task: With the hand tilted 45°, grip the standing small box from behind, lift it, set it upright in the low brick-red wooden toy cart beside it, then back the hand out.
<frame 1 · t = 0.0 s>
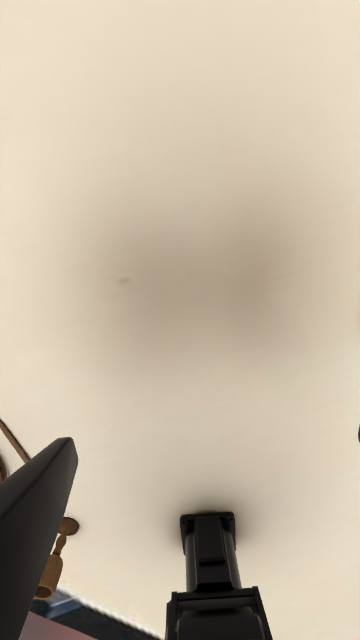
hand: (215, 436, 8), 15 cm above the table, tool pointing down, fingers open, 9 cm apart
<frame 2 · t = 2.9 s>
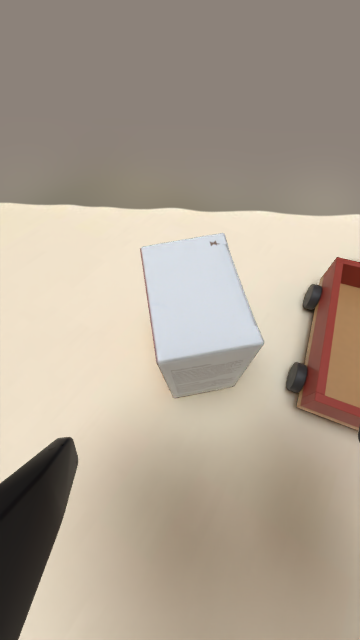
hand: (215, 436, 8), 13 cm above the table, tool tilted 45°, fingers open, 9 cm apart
small box: (194, 352, 23), on the table
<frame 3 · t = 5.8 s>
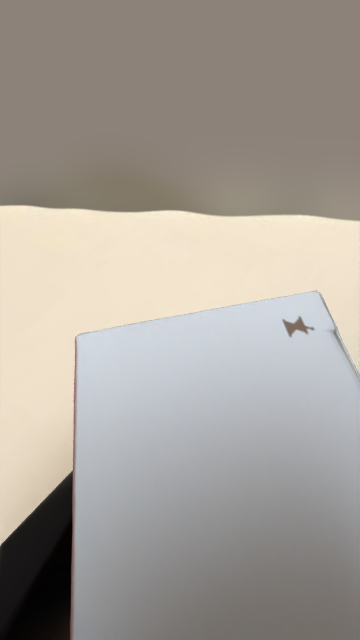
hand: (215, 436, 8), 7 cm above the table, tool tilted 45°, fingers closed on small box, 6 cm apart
small box: (210, 469, 13), on the table, touching gripper
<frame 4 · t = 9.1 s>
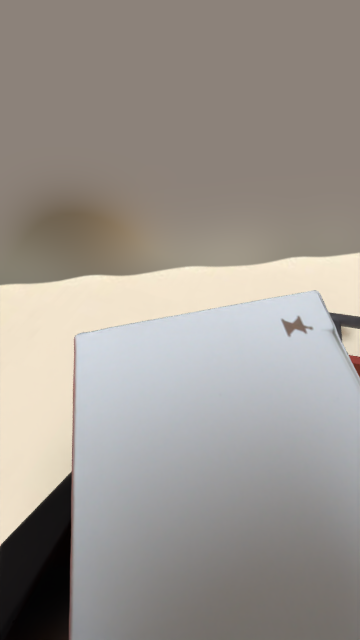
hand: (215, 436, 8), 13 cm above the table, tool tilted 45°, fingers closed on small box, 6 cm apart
cart: (326, 455, 18), on the table
small box: (209, 469, 13), point 6 cm above the table, touching gripper
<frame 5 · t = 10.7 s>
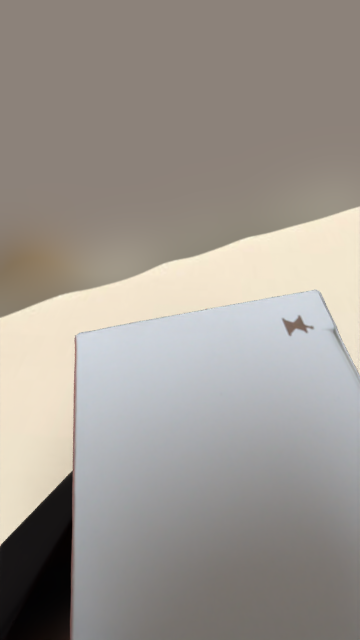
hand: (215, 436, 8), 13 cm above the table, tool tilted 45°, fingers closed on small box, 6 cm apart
small box: (210, 469, 13), point 6 cm above the table, touching gripper
when the fingers open (9 cm above the table, at t = 12.4 s): small box stays where it is, resting on cart.
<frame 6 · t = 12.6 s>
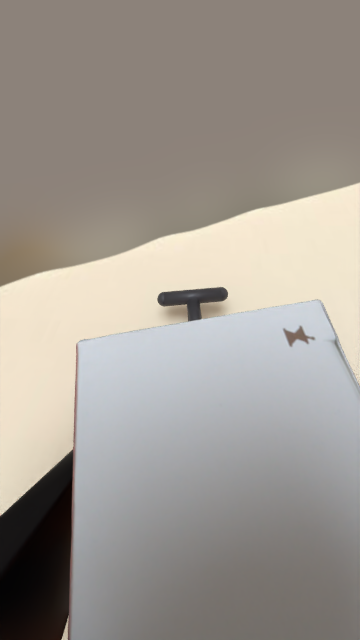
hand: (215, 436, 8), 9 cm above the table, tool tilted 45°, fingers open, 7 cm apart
cart: (208, 466, 15), on the table
small box: (210, 471, 13), point 2 cm above the table, touching cart
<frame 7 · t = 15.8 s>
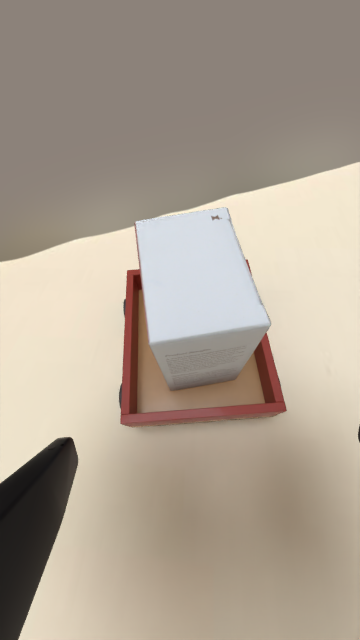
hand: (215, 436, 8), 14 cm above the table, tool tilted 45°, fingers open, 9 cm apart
cart: (194, 349, 23), on the table
small box: (193, 343, 22), point 2 cm above the table, touching cart
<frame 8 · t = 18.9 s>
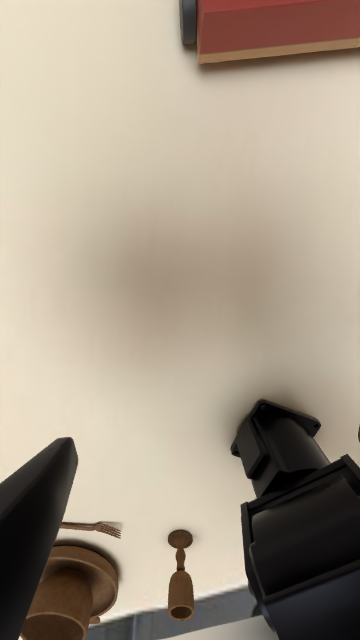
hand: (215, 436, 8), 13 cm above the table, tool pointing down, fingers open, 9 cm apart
place setting: (105, 570, 30), on the table
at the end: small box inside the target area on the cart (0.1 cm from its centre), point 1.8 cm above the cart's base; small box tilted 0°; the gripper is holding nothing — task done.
